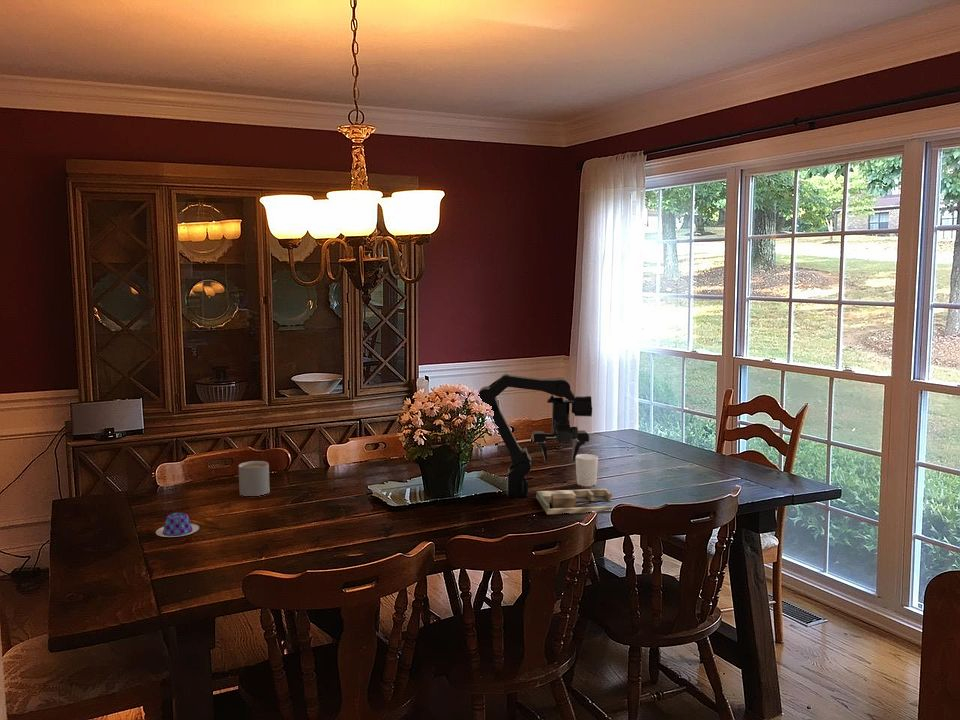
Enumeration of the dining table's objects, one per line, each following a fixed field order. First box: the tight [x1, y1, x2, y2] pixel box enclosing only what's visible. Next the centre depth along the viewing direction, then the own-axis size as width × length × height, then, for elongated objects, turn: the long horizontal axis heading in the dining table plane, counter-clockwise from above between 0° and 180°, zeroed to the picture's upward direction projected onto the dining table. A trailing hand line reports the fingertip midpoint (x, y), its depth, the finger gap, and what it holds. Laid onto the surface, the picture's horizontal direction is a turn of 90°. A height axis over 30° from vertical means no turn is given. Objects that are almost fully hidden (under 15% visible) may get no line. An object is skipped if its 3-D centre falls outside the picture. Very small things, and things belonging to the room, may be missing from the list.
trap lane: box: [536, 488, 615, 515], centre depth 258 cm, size 24×17×2 cm
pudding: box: [155, 512, 200, 538], centre depth 234 cm, size 12×12×5 cm
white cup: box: [575, 453, 599, 487], centre depth 282 cm, size 8×8×10 cm
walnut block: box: [550, 494, 577, 509], centre depth 256 cm, size 7×5×4 cm
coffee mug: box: [238, 460, 271, 497], centre depth 274 cm, size 13×10×10 cm
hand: (559, 461), depth 267 cm, fingers open, 9 cm apart
